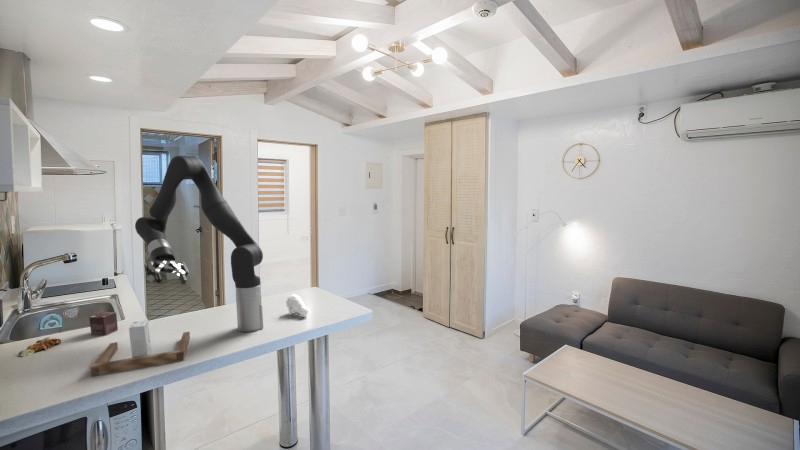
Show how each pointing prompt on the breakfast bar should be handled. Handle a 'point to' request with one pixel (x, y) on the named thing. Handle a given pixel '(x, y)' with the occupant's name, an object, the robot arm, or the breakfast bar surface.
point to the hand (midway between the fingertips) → (172, 282)
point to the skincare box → (140, 339)
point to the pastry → (39, 346)
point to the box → (103, 323)
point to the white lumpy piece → (296, 305)
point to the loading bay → (137, 358)
